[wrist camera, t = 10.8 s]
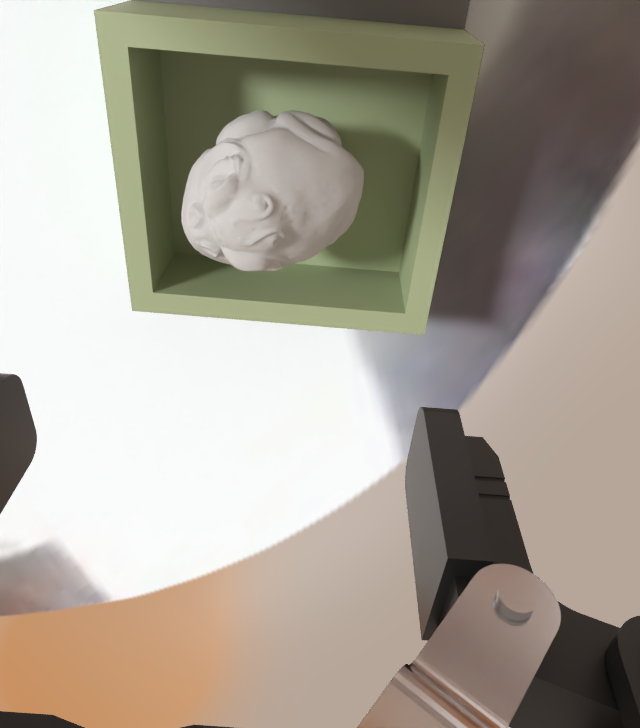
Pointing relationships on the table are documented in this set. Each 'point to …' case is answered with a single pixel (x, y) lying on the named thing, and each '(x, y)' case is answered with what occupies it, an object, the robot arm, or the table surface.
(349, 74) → the tray
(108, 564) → the table surface
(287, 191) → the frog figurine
